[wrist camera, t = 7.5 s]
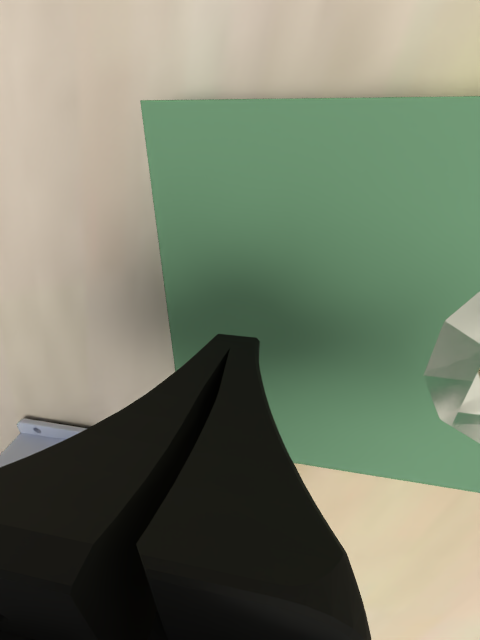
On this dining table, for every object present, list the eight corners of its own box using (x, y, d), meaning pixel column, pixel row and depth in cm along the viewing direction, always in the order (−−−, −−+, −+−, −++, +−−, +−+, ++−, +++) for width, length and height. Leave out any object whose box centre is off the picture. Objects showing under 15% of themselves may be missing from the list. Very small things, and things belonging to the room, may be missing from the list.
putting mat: (199, 407, 18) (185, 445, 16) (173, 106, 11) (140, 100, 9) (568, 459, 15) (610, 513, 13) (866, 99, 8) (1069, 88, 6)
